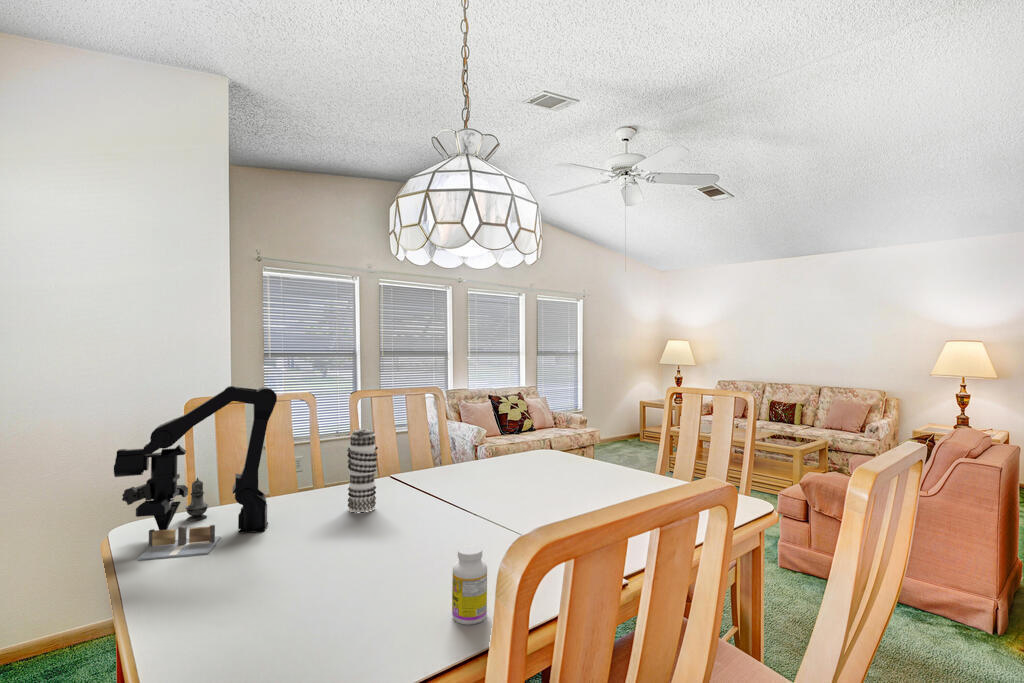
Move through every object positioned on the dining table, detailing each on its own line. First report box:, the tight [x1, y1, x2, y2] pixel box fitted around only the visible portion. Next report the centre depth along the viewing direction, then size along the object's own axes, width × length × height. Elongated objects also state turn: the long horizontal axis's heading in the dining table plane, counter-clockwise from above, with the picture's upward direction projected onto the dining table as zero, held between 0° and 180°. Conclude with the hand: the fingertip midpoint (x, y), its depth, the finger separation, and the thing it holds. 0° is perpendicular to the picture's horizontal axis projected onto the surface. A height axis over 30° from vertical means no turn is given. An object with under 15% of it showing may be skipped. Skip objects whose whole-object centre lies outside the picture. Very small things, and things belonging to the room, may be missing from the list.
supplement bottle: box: [451, 544, 488, 626], centre depth 99 cm, size 7×7×13 cm
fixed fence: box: [177, 524, 216, 546], centre depth 133 cm, size 8×2×5 cm, turn 106°
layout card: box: [137, 535, 222, 561], centre depth 130 cm, size 15×11×1 cm
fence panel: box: [148, 528, 176, 547], centre depth 131 cm, size 6×1×4 cm, turn 106°
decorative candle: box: [347, 428, 379, 513], centre depth 163 cm, size 9×9×25 cm
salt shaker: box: [185, 477, 209, 522], centre depth 153 cm, size 6×6×12 cm
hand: (163, 532), depth 135 cm, fingers closed
